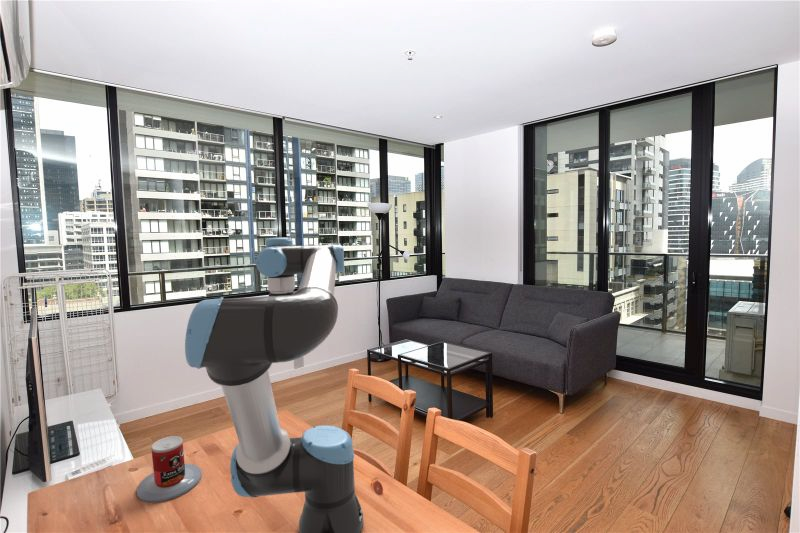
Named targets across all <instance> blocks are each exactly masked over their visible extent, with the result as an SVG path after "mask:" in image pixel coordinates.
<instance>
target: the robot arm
mask: <svg viewBox="0 0 800 533" xmlns="http://www.w3.org/2000/svg"><path fill="white" fill-rule="evenodd" d="M344 251H345V250H344V247H343V246H342V245H341V244H331V243H329V244H317V245H316V244H315V245H314V244H313V245H294V243H293V239H292V238H291V237H269V238H266V239H265V247H264V248H263V249H261V250H260V252H259V253H258V254H257V256H256V259H255V266H256V269H257V271H259V273H260V274H261V275H263V276H265V277H267V291H268V292H269V293H268V296H267V295H266V296H254V297H253V296H251V297H233V298H225V297H224V296H221V297H219V298H213V299H212V298H211V299H204V300H201V301H199V302H198V303H197V304H196V305H195V306H194V308H193V309H192V311H191V313H190V316H189V318H188V322H187V325H186V326H187V327H186V332H185V337H184V341H185V342H184V354H185V360H186V363H187V364H188V366H190V368H196V369H201V368H205V369H206V373H207V376H208V377H209V379H210V380H211V381H212V382H213V383H215V384H216V385H218V386H221V389H222V391H223V395H224V398H225V402H226V405H227V407H228V412H229V415H230V418H231V421H232V424H233V426H234V430H235V434H236V436H237V440H238V444H237V445H236V446H235V447H234V449H233V452H232V454H231V458H230V475H231V480H230V481H231V486H232V487H233V491H234V492H235V493H236V494H237V495H238V496H239V497H243V498H248V497H249V498H259V497H266V496H277V495H285V494H295V493H304V503H303V506H302V511H301V514H300V517H299V521H298V532H299V533H362V531H363V527H364V513H363V512H364V511H363V509H362V506H361V504H360V500H359V498H358V496H357V494H356V490H355V487H356V486H355V467H354V464H355V463H354V459H355V451H354V445H353V444H354V443H353V439H352V437H351V435H350V434H349V432H348V431H346V430H344V429H342V428H341V427H338V426H333V425H326V424H324V425H315V426H313V427H310V428H307V429H306V430H305V431H304V432H303V434H302V436H301V437H290V435H289V434H288V432H287V430H285V429H284V428H282V427H281V426H280V421H279V416H278V411H277V406H276V400H275V397H274V392H273V386H272V383H271V378H270V373H269V370H270V369H271V367H272V364H276V363H277V364H278V363H288V362H291V361H293V368H294V369H295V370H297V369H300V368H304V367H305V362H304V356H306V355H308V354H309V353H311V352H313V351H314V350H315V349H316V348H318V346H320V345H321V344H322V343H324V341H325V340H327V339H328V337H329V335H331V333H332V331H333V330H334V328H335V325H336V323H337V320H338V315H339V306H338V302H337V298H336V297H335V285H336V274H340V273H342V272H344V271H345V253H344ZM295 275H302V277H301V279H300V283H299V287H298V289H297V290H296V291H295V289H296V282H295V281H296V278H295Z"/></svg>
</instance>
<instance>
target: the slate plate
mask: <svg viewBox="0 0 800 533" xmlns="http://www.w3.org/2000/svg"><path fill="white" fill-rule="evenodd" d="M184 464H185V476H184V479H183V480H182V481H181V482H179V483H178V484H176V485H174V486H171V487H165V488H162V487H158V486H157V485H156V483H155V480H154V471H153V472H152V473H150V474H149V475H147V476H146V477H145V478H143V479H142V480H140V482H139V483H138V485H137V487H136V496H137V498H138V499H139V500H140V501H143V502H144V503H145V502H146V503H160V502H161V503H162V502H166V501H170V500H173V499H177V498H178V497H181V496H183V495H185V494H186V493H188V492H190V491H191V490H193V489H194V488H195V487H196V486H197V485H198V484H199V483H200V481H201V479H202V469H201V468H200V467H199V466H198V465H195V464H194V463H193V464H191V463H184Z"/></svg>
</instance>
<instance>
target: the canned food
mask: <svg viewBox="0 0 800 533" xmlns="http://www.w3.org/2000/svg"><path fill="white" fill-rule="evenodd" d="M183 442H184V441H183V438H182V437H180V436H176V435H171V436H166V437H162V438H160V439H158V440H156V441H154V443H152V444H151V458H152V459H151V460H152V469H153V472H154V480H155V483H156V485H157V486H158V487H162V488H165V487H171V486H174V485H176V484H178V483H179V482H181V481H182V480H183V479H184V476H185V464H186V463H185V452H184V443H183Z"/></svg>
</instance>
